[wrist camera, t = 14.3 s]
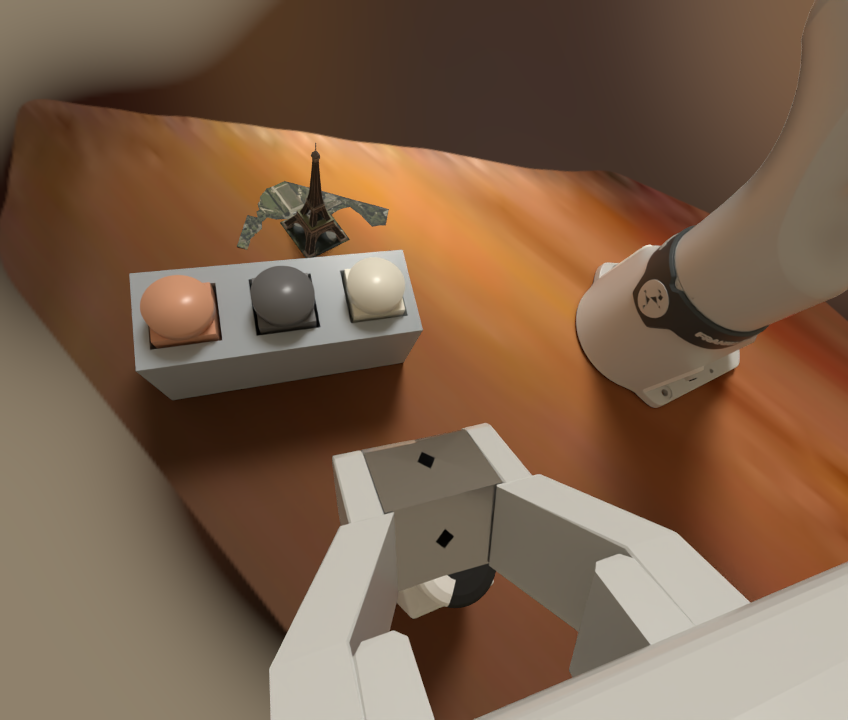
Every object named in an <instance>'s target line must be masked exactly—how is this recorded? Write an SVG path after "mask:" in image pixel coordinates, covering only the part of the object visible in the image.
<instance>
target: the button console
mask: <svg viewBox="0 0 848 720" xmlns="http://www.w3.org/2000/svg"><path fill="white" fill-rule="evenodd" d="M370 257H377V258H382V259H386V260H388V261H390V262H392V263H393V264H394V265H396V266H397V267H398V269H399V270H400V271H401V273H402V274H403V277H404V280H405V291H404V294H403V297H402V298H403V302H404V306H405V312H404V314H403V316H402V317H395V318H387V319H379V320H372V321H364V322H357V323H351V322H350V317H349V312H348V307H347V303H346V298H345V293H344V288H343V277H344V269H351V268H352V267H353V266H354V265H355V264H356V263H357V262H359V261H360V260H363V259H365V258H370ZM274 266H290V267H294V268H296V269H298V270H300V271H302V272H303V273H308V277H309V279H310V280H311V282H312V284H313V286H314V291H315V303H314V311H315V316H316V328H311V329H304V330H296V331H289V332H281V333H274V334H266V335H261V334H260V330H259V325H258V318H257V313H256V312H255V310H254V307H253V304H252V300H251V296H250V290H251V285H252V278H256V277H257V275H259V274H260V273H261V272H262V271H264V270H266V269H268V268H270V267H274ZM171 275H185V276H189V277H193V278H195V279H197V280H199V281H200V282H202V283H206V282H210V284H211V286H212V288H213V290H214V293H215V295H216V297H217V300H218V308H219V316H220V324H221V333H222V340H221V341H213V342H205V343H198V344H190V345H183V346H175V347H168V348H160V349H157V348H156V347H155V346H154V345H153V344H152V343H151V337H150V327H149V326H148V324H147V323H146V322H145V321H144V319H143V317H142V315H141V312H140V301H141V298H142V295H143V293H144V292H145V290H146V289H147V288H148V287H149V286H150V285H151V284H152V283H154V282H155V281H157V280H159V279H161V278H163V277H167V276H171ZM130 289H131V304H132V319H133V334H134V350H135V365H136V372H138V373H139V374H140V375H141V376H143V377H144V378H145V379H146V380H148V381H149V382H150V383H151V384H152V385H154V386H155V387H156V388H157V389H159V390H160V391H161V392H162V393H164V394H165V395H166V396H167V397H169V398H170V399H171V400H177V399H183V398H190V397H196V396H202V395H208V394H214V393H220V392H226V391H232V390H239V389H245V388H251V387H257V386H263V385H269V384H275V383H281V382H288V381H294V380H300V379H306V378H312V377H318V376H324V375H331V374H337V373H343V372H349V371H355V370H361V369H367V368H373V367H380V366H386V365H392V364H398V363H404V361H405V359H406V358H407V356H408V354H409V353H410V351H411V349H412V347H413V346H414V344H415V342H416V341H417V339H418V337H419V336H420V334H421V332H422V331H423V329H422V325H421V321H420V317H419V313H418V309H417V305H416V301H415V297H414V293H413V289H412V286H411V282H410V278H409V274H408V270H407V266H406V262H405V258H404V254H403V250H394V251H383V252H371V253H360V254H348V255H337V256H326V257H314V258H303V259H291V260H280V261H268V262H257V263H246V264H234V265H223V266H211V267H200V268H189V269H177V270H166V271H154V272H143V273H131V274H130Z"/></svg>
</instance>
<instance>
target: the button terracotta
mask: <svg viewBox="0 0 848 720" xmlns="http://www.w3.org/2000/svg"><path fill="white" fill-rule="evenodd" d="M140 312H141V315H142V317H143V319H144V321H145V322H146V323H147V324H148V326H149V327H150V337H151V343H152V344H153V345H154V346H155V347H156V348H157V349H160V348H168V347H175V346H183V345H190V344H198V343H205V342H213V341H221V340H222V333H221V324H220V316H219V308H218V300H217V297H216V295H215V293H214V290H213V288H212V286H211V284H210V282H206V283H202V282H200V281H199V280H197V279H195V278H193V277H189V276H185V275H171V276H167V277H163V278H161V279H159V280H157V281H155V282H154V283H152V284H151V285H150V286H149V287H148V288H147V289H146V290H145V292H144V293H143V295H142V298H141V301H140Z"/></svg>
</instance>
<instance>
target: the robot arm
mask: <svg viewBox="0 0 848 720" xmlns="http://www.w3.org/2000/svg"><path fill="white" fill-rule="evenodd" d="M847 289H848V0H815V2H814V4H813V6H812V8H811V10H810V13H809V15H808V18H807V21H806V24H805V27H804V31H803V35H802V52H801V68H800V74H799V79H798V85H797V90H796V94H795V97H794V101H793V104H792V107H791V110H790V113H789V115H788V119H787V121H786V123H785V125H784V128H783V130H782V132H781V134H780V137H779V138H778V140H777V142H776V144H775V146H774V147H773V149H772V151H771V152H770V154H769V155H768V157H767V158H766V160H765V162H764V163H763V164H762V166H761V167H760V168H759V169H758V171H757V172H756V173H755V174H754V175H753V176H752V177H751V179H750V180H749V181H748V182H747V183H746V184H745V185H743V186H742V187H741V188H740V189H739V190H738V191H737V192H736V193H735V194H733V195H732V196H731V198H729V199H728V200H727V201H726V202H724V203H723V204H722V205H721V206H720V207H719V208H717V209H716V210H715V211H714V212H713V213H711V214H710V215H709V216H708V217H707V218H705V219H704V220H703V221H701V222H700V223H699V224H698V225H695V226H691V227H688V228H686V229H684V230H683V231H681V232H680V233H677V234H676V235H674V236H672V237H671V238H670V239H668V240H667V241H666V242H665V243H664V244H663V245H662V246H652V245H646V246H644V247H642V248H641V249H639V250H638V251H636V252H635V253H634V254H632V255H631V256H629V257H628V258H626V259H625V260H623V261H622V262H620V263H604V264H602V265H601V266H599V267H598V269H597V270H596V273H595V278H594V282H593V285H592V286H591V287H590V289H589V290H588V291H587V292H586V293H585V294H584V296H583V297H582V299H581V301H580V303H579V306H578V309H577V315H576V326H577V333H578V337H579V340H580V343H581V345H582V348H583V350H584V352H585V353H586V355H587V357H588V358H589V360H590V361H591V362H592V364H593V365H594V366H595V367H596V368H597V369H598V370H599V371H600V372H601V373H602V374H603V375H604V376H606V377H607V378H608V379H610V380H611V381H613V382H614V383H616V384H618V385H620V386H623V387H625V388H627V389H629V390H631V391H633V392H635V393H636V394H637V395H638V396H639V397H640V398H641V399H642V400H643V401H644V402H645V403H646V404H648V405H649V406H651V407H653V408H658V407H661V406H663V405H665V404H667V403H669V402H670V401H672V400H674V399H676V398H678V397H680V396H682V395H684V394H686V393H688V392H690V391H692V390H694V389H696V388H697V387H699V386H701V385H703V384H705V383H707V382H709V381H711V380H713V379H715V378H717V377H719V376H721V375H722V374H724V373H726V372H728V371H730V370H732V369H734V368H736V367H737V366H738V365H739V358H740V354H739V349H741V348H743V347H745V346H747V345H749V344H751V343H753V342H754V341H755V339H756V337H757V335H758V334H759V333H760V332H762V331H763V330H765V329H766V328H767V327H768V326H769V325H770V324H771V323H774V322H776V321H779V320H781V319H785V318H787V317H790V316H792V315H794V314H795V313H798V312H800V311H803V310H805V309H807V308H810V307H812V306H814V305H817V304H819V303H822V302H824V301H826V300H829V299H831V298H833V297H836V296H838V295H839V294H841V293H843V292H844V291H846V290H847ZM662 392H663V394H664V395H663V394H662ZM332 464H333V472H334V481H335V489H336V497H337V505H338V511H339V518H340V524H341V526H340V527H339V529H338V531H337V533H336V535H335V537H334V539H333V542H332V544H331V546H330V548H329V550H328V552H327V554H326V556H325V558H324V560H323V562H322V564H321V566H320V568H319V570H318V572H317V574H316V576H315V578H314V580H313V582H312V584H311V586H310V588H309V590H308V592H307V594H306V596H305V598H304V600H303V602H302V604H301V606H300V608H299V610H298V612H297V614H296V616H295V618H294V620H293V622H292V624H291V626H290V628H289V630H288V632H287V634H286V637H285V639H284V641H283V643H282V645H281V647H280V649H279V651H278V653H277V655H276V657H275V659H274V661H273V663H272V665H271V667H270V669H269V672H270V706H271V720H434V717H433V713H432V710H431V707H430V704H429V701H428V698H427V695H426V692H425V689H424V685H423V682H422V679H421V676H420V673H419V670H418V667H417V664H416V661H415V658H414V654H413V651H412V648H411V645H410V642H409V639H408V636H406V635H403V634H401V633H399V632H396V631H394V630H393V631H390V627H391V623H392V619H393V615H394V611H395V607H396V603H397V599H398V592H399V591H402V590H405V589H408V588H411V587H413V586H416V585H419V584H422V583H425V582H428V581H431V580H434V579H436V578H439V577H442V576H446V575H449V574H453V573H456V572H460V571H463V570H467V569H470V568H474V567H477V566H481V565H484V564H488V563H489V566H490V567H492V568H493V569H494V570H496V571H497V572H498V573H500V574H501V575H502V576H504V577H505V578H506V579H508V580H509V581H511V582H512V583H513V584H515V585H516V586H517V587H519V588H520V589H521V590H523V591H524V592H525V593H527V594H528V595H529V596H531V597H532V598H534V599H535V600H536V601H538V602H539V603H540V604H542V605H543V606H544V607H546V608H547V609H548V610H550V611H551V612H552V613H554V614H555V615H557V616H558V617H559V618H561V619H562V620H563V621H565V622H566V623H567V624H569V625H570V626H571V627H573V628H574V629H575V630H577V631H578V636H577V640H576V644H575V648H574V652H573V656H572V660H571V664H570V668H569V671H570V673H571V675H572V677H573V678H571V679H568V680H566V681H564V682H561V683H559V684H557V685H554V686H552V687H550V688H547V689H545V690H542V691H540V692H538V693H535V694H533V695H531V696H528V697H526V698H524V699H521V700H519V701H516V702H514V703H512V704H509V705H507V706H505V707H502V708H500V709H497V710H495V711H493V712H490V713H488V714H486V715H483V716H481V717H479V718H476V719H474V720H848V562H846V563H843V564H841V565H839V566H836V567H834V568H832V569H829V570H827V571H824V572H822V573H820V574H817V575H815V576H813V577H810V578H808V579H805V580H803V581H801V582H798V583H796V584H794V585H791V586H789V587H786V588H784V589H782V590H779V591H777V592H775V593H772V594H770V595H768V596H765V597H763V598H760V599H758V600H756V601H753V602H751V603H750V602H749V601H748V600H747V599H746V598H745V597H744V596H743V595H742V594H741V593H740V592H739V591H738V590H737V589H735V588H734V587H733V586H732V585H731V584H730V583H729V582H728V581H727V580H726V579H725V578H724V577H723V576H722V575H721V574H720V573H719V572H718V571H717V570H715V569H714V568H713V567H712V566H711V565H710V564H709V563H708V562H707V561H706V560H705V559H704V558H703V557H702V556H701V555H700V554H699V553H698V552H697V551H695V550H694V549H693V548H692V547H691V546H690V545H689V544H688V543H687V542H686V541H685V540H684V539H683V538H682V537H681V536H680V535H679V534H678V533H676V532H674V531H672V530H670V529H667V528H665V527H662V526H660V525H658V524H655V523H653V522H651V521H648V520H646V519H644V518H641V517H639V516H637V515H634V514H632V513H630V512H627V511H625V510H623V509H620V508H618V507H616V506H613V505H611V504H609V503H606V502H604V501H602V500H599V499H597V498H595V497H592V496H590V495H588V494H585V493H583V492H580V491H578V490H576V489H573V488H571V487H569V486H566V485H564V484H562V483H559V482H557V481H555V480H552V479H550V478H548V477H545V476H543V475H541V474H538V475H534V476H532V475H531V474H530V472H529V471H528V470H527V469H526V468H525V466H524V465H523V464H522V463H521V461H520V460H519V459H518V458H517V457H516V455H515V454H514V453H513V452H512V451H511V449H510V448H509V447H508V446H507V445H506V443H505V442H504V441H503V440H502V439H501V437H500V436H499V435H498V434H497V432H496V431H495V430H494V429H493V428H492V426H491V425H489V424H487V423H483V424H479V425H475V426H471V427H467V428H462V429H461V430H457V431H452V432H448V433H443V434H439V435H434V436H430V437H425V438H421V439H416V440H410V441H405V442H400V443H395V444H390V445H384V446H379V447H374V448H369V449H364V450H361V451H355V452H350V453H345V454H340V455H335V456H333V457H332ZM389 631H390V632H389Z"/></svg>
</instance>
